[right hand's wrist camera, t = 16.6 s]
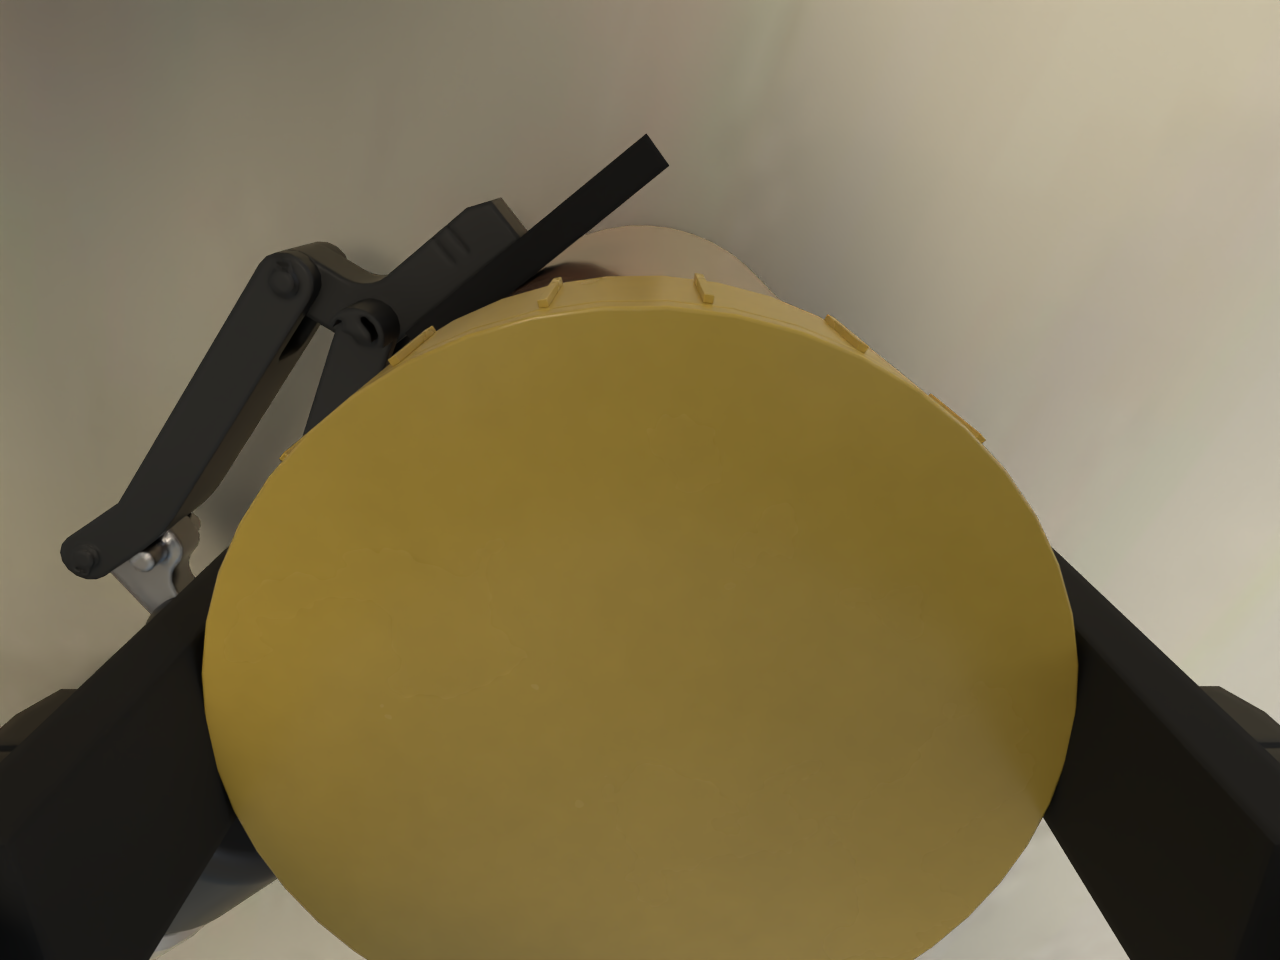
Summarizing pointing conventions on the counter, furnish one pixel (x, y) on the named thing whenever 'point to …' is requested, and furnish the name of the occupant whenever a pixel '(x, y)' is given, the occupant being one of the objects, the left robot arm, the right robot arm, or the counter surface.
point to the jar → (645, 259)
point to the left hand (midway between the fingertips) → (791, 341)
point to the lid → (640, 643)
